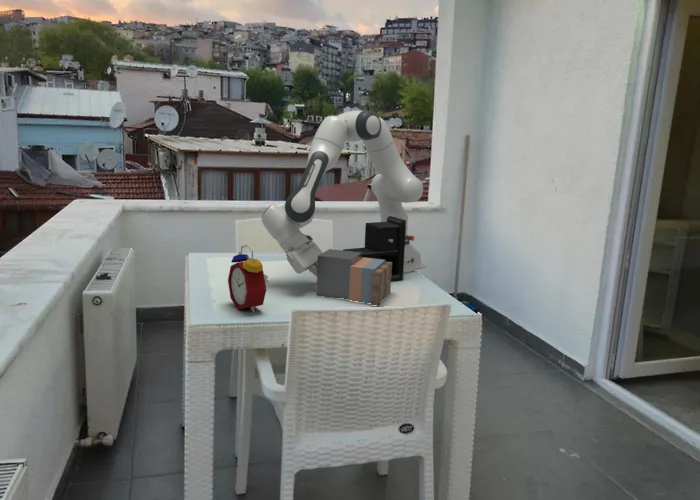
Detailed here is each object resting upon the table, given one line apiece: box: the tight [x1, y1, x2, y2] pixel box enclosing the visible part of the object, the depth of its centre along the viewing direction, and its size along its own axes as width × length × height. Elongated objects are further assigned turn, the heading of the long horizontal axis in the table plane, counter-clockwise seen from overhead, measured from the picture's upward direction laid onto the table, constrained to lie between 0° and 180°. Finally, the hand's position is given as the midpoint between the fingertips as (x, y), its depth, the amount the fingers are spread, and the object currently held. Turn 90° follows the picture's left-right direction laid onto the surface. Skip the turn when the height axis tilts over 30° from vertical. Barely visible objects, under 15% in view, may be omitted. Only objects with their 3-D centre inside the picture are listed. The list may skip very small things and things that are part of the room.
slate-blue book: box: [361, 259, 385, 303], centre depth 191 cm, size 15×4×12 cm, turn 162°
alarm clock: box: [227, 244, 270, 314], centre depth 174 cm, size 15×9×20 cm, turn 35°
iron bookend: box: [315, 248, 362, 299], centre depth 194 cm, size 12×12×14 cm
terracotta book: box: [348, 257, 373, 302], centre depth 192 cm, size 15×4×12 cm, turn 162°
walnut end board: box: [371, 262, 392, 306], centre depth 190 cm, size 18×2×11 cm, turn 162°
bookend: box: [342, 216, 406, 282], centre depth 213 cm, size 23×11×24 cm, turn 119°
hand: (321, 276), depth 196 cm, fingers closed
